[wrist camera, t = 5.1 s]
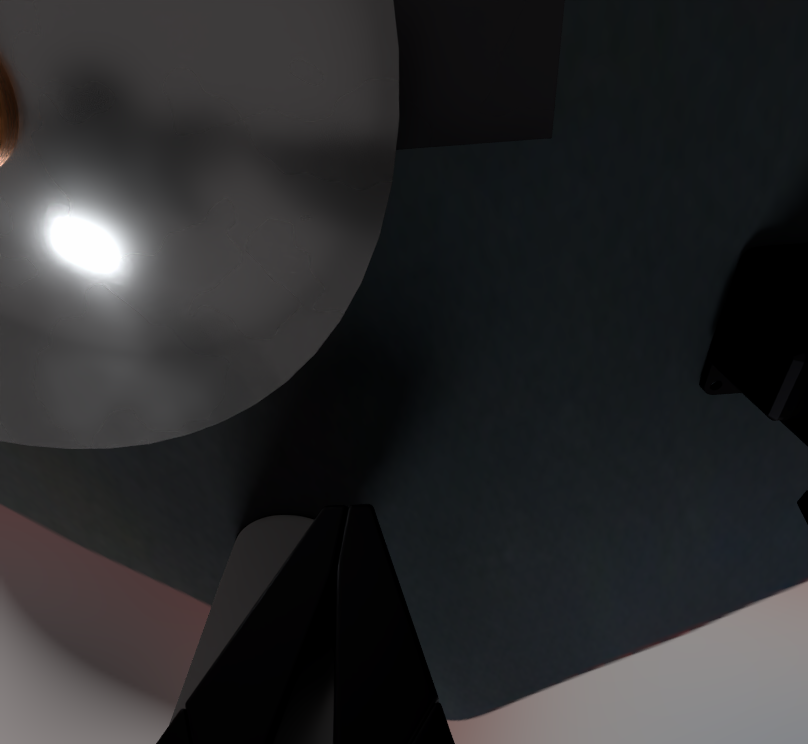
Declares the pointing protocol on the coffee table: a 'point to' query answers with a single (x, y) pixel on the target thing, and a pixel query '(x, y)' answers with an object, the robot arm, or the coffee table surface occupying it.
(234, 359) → the lid
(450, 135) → the cooking pot
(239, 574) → the mug
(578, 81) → the coffee table surface
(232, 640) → the robot arm
